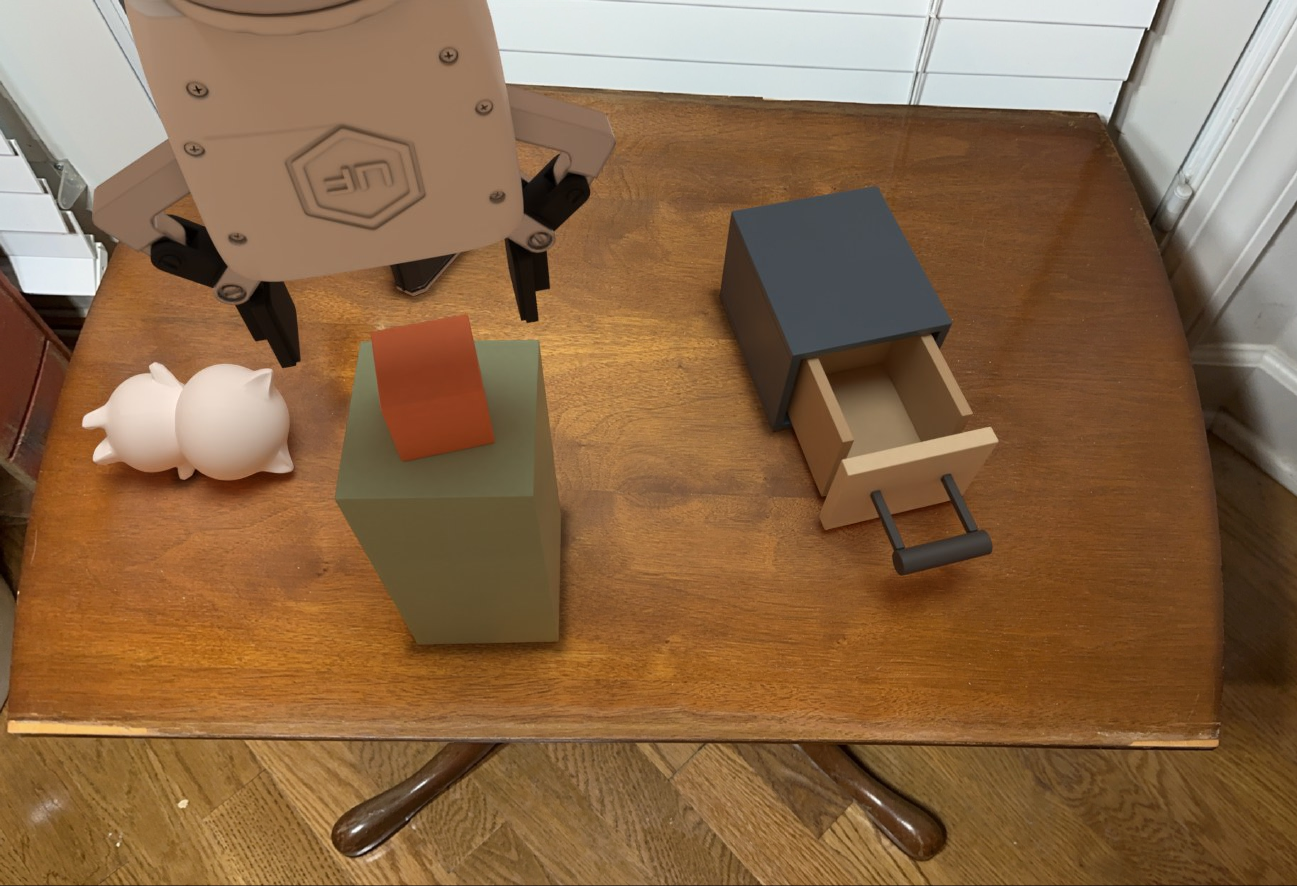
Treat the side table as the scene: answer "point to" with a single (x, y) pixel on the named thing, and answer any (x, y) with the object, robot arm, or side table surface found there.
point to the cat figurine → (196, 423)
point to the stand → (462, 510)
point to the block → (431, 387)
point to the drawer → (891, 442)
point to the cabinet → (821, 286)
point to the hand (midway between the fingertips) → (409, 317)
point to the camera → (420, 273)
